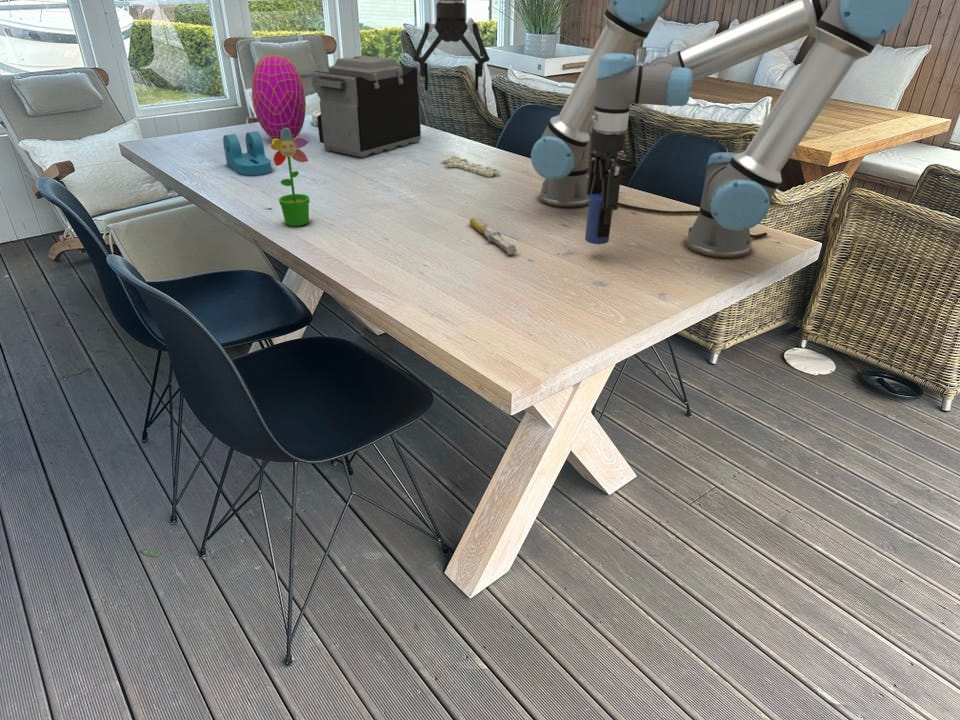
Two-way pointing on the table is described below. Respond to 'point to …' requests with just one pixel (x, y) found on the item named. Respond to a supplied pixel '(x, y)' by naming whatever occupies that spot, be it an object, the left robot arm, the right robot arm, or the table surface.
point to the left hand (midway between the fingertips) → (451, 89)
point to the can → (594, 220)
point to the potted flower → (291, 178)
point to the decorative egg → (278, 96)
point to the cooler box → (367, 105)
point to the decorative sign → (470, 166)
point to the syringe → (492, 235)
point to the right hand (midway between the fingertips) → (597, 231)
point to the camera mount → (246, 154)
